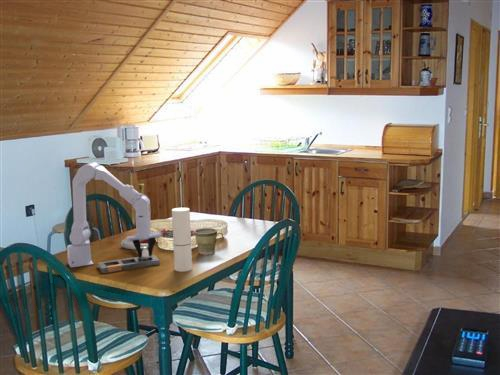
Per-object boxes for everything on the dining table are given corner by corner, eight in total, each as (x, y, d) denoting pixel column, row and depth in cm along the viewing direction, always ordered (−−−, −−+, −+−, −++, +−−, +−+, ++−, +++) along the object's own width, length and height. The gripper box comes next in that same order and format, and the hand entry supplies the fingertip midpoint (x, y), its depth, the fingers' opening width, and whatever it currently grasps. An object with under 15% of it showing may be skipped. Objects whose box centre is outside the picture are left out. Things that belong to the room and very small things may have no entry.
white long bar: (128, 237, 292) (152, 241, 271) (130, 251, 292) (154, 256, 272) (118, 239, 289) (141, 243, 268) (120, 253, 289) (143, 258, 269)
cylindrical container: (192, 265, 258) (190, 207, 254) (191, 271, 251) (188, 210, 247) (175, 266, 258) (172, 207, 254) (173, 271, 251) (170, 211, 247)
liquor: (143, 239, 303) (139, 182, 298) (155, 240, 300) (152, 183, 295) (133, 242, 297) (130, 185, 292) (146, 244, 294) (143, 186, 289)
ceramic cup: (192, 254, 274) (191, 232, 273) (200, 248, 284) (199, 227, 282) (219, 256, 270) (218, 234, 269) (227, 250, 280) (226, 228, 278)
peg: (141, 265, 261) (140, 249, 259) (139, 263, 264) (138, 247, 263) (151, 264, 262) (150, 248, 261) (148, 261, 266) (147, 245, 265)
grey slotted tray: (102, 273, 251) (102, 268, 251) (98, 267, 260) (97, 262, 259) (159, 264, 261) (159, 259, 261) (153, 259, 269) (153, 254, 269)
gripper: (128, 229, 254) (130, 261, 256) (162, 224, 260) (164, 256, 262) (124, 225, 260) (126, 256, 263) (157, 221, 266) (159, 252, 268)
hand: (144, 256), depth 263 cm, fingers closed on peg, 4 cm apart
